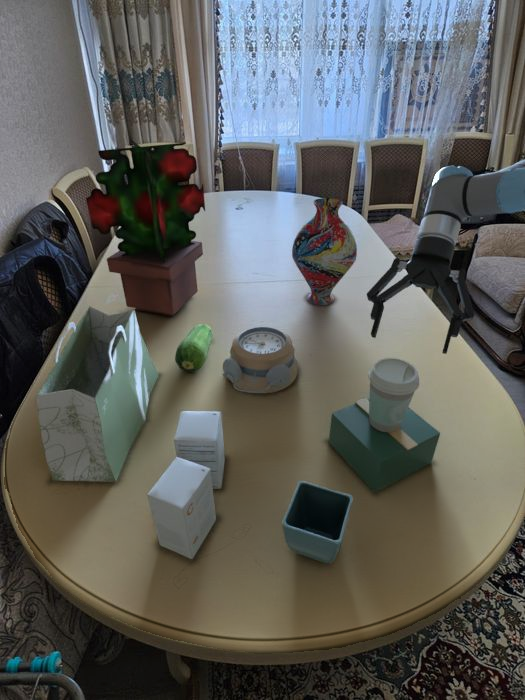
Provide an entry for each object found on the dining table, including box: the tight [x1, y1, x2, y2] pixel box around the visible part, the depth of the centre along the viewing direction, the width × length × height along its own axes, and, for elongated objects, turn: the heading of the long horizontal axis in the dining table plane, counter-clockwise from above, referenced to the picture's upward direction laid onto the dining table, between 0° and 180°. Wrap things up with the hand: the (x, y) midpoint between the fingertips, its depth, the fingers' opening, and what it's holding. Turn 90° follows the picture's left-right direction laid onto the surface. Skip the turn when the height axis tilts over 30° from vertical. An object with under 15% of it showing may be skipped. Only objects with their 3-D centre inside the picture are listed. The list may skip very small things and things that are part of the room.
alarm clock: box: [222, 326, 299, 394], centre depth 105 cm, size 17×9×23 cm
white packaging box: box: [173, 410, 226, 490], centre depth 80 cm, size 7×7×13 cm
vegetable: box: [174, 323, 214, 372], centre depth 114 cm, size 7×7×20 cm
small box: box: [146, 456, 217, 560], centre depth 70 cm, size 8×6×13 cm
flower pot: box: [281, 480, 354, 564], centre depth 69 cm, size 9×9×9 cm
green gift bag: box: [36, 305, 160, 483], centre depth 89 cm, size 32×14×23 cm, turn 178°
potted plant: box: [85, 139, 206, 317], centre depth 125 cm, size 22×22×45 cm
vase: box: [291, 197, 358, 306], centre depth 132 cm, size 19×19×30 cm
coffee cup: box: [367, 357, 420, 432], centre depth 80 cm, size 8×8×12 cm
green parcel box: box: [328, 397, 441, 493], centre depth 86 cm, size 14×14×8 cm
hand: (407, 343), depth 87 cm, fingers open, 13 cm apart
